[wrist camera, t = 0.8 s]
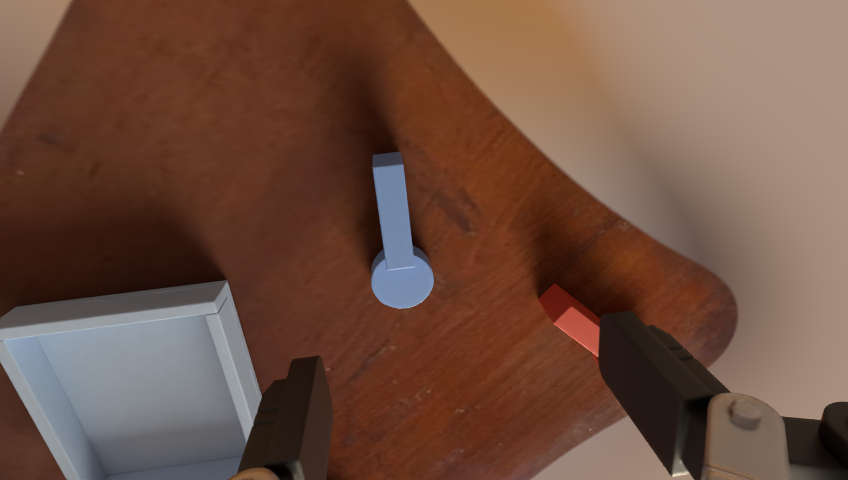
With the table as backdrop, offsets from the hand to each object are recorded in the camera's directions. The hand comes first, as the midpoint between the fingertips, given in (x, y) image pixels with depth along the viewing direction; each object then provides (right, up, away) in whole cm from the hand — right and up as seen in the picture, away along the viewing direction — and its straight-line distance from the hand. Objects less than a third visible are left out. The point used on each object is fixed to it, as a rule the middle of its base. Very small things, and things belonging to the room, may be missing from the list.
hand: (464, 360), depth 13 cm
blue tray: (-19, -7, +18) cm, 27 cm away
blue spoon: (-3, +4, +15) cm, 16 cm away
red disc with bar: (+11, -3, +19) cm, 22 cm away
